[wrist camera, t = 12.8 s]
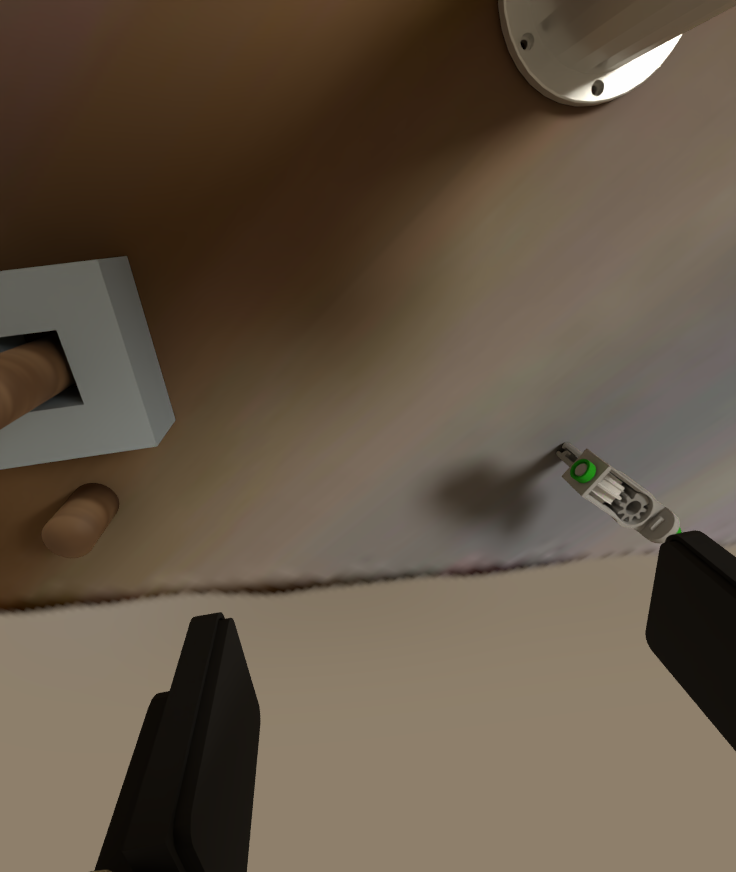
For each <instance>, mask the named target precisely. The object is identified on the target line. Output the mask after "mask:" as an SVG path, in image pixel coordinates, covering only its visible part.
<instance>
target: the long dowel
mask: <svg viewBox="0 0 736 872" xmlns="http://www.w3.org/2000/svg"><path fill="white" fill-rule="evenodd" d="M75 383H76V381H75V379H74V376H73V373H72V371H71V368H70V365H69V363H68V360H67V357H66V355H65V352H64V349H63V347H62V344H61V341H60V339H59V336H58V333H57V332H55V333H52V334H50V335H47V336H44V337H42V338H39V339H36V340H33V341H31V342H28V343H25V344H23V345H20V346H17V347H14V348H12V349H9V350H6V351H4V352H1V353H0V430H1V429H2V428H4V427H5V426H7V425H9V424H10V423H12V422H13V421H15V420H17V419H18V418H20V417H22V416H23V415H25V414H26V413H28V412H30V411H31V410H33V409H34V408H36V407H38V406H39V405H41V404H42V403H44V402H46V401H47V400H49V399H50V398H52V397H54V396H55V395H57V394H59V393H60V392H62V391H63V390H65V389H67V388H68V387H70V386H71V385H73V384H75Z"/></svg>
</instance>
